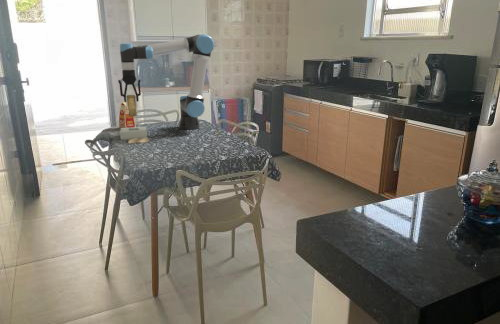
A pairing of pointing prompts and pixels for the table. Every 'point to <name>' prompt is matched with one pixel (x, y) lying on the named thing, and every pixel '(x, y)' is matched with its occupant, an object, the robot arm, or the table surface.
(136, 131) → the housing
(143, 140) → the pad
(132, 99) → the plug
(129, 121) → the milk carton
